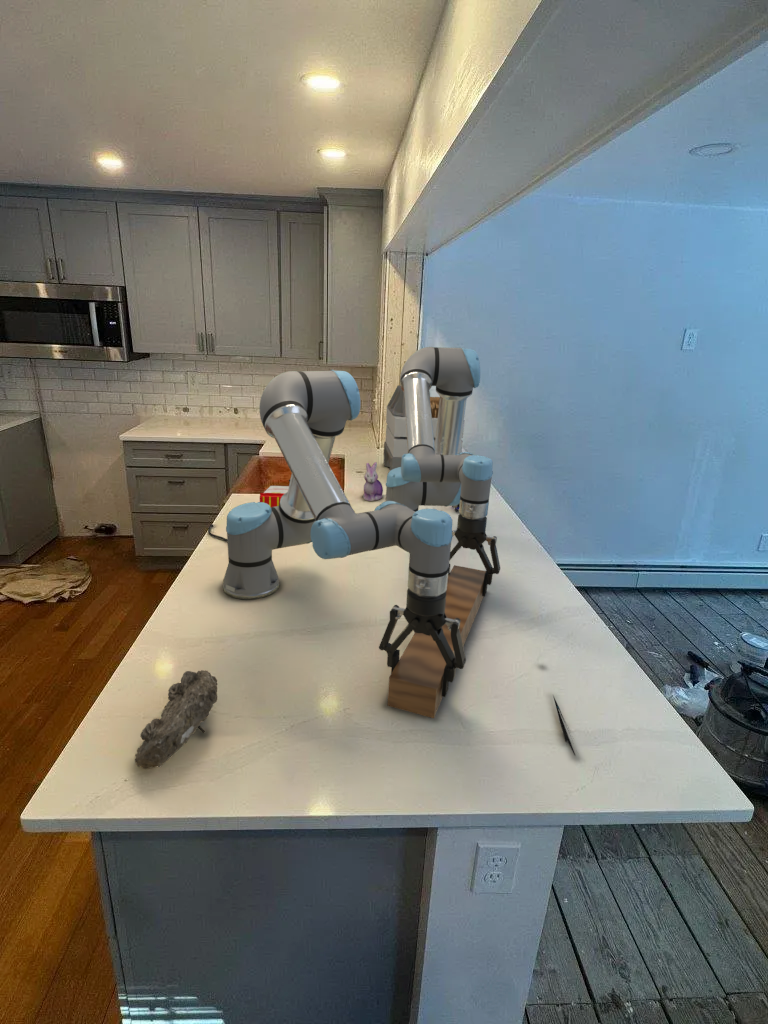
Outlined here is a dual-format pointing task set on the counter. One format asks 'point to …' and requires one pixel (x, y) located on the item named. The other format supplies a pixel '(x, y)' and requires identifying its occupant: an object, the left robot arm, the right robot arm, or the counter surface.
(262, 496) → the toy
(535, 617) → the counter surface
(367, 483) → the figurine
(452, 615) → the thick board
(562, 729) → the feather
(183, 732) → the fossil
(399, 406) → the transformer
